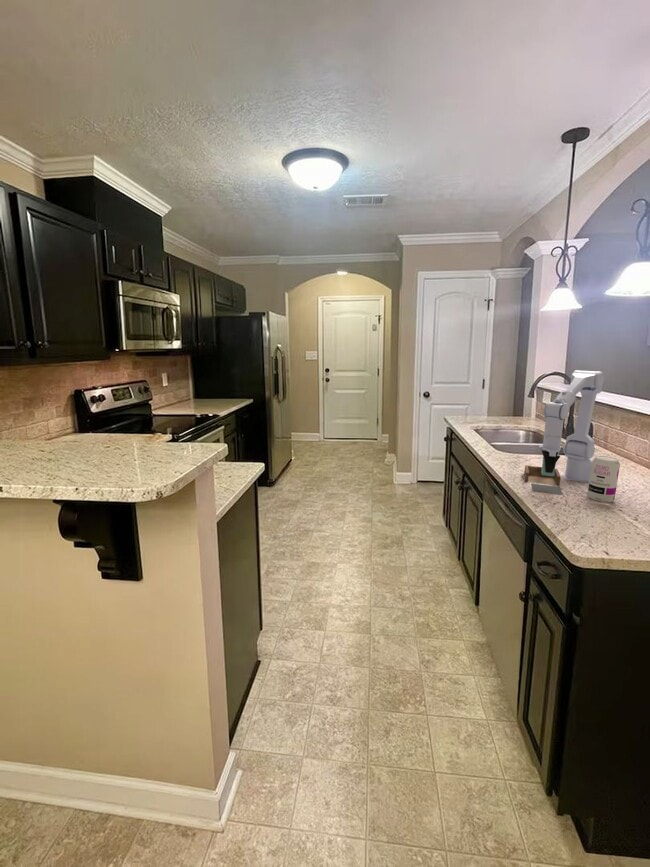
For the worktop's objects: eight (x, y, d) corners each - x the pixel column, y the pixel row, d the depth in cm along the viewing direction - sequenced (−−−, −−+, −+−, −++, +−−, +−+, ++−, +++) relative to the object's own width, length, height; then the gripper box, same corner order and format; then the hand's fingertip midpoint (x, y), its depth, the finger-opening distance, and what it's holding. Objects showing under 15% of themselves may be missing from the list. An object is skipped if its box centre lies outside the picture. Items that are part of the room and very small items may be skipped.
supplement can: (610, 497, 155) (616, 456, 152) (617, 504, 147) (623, 462, 144) (584, 494, 157) (590, 454, 154) (590, 501, 150) (596, 460, 147)
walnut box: (556, 478, 177) (557, 468, 176) (559, 486, 166) (560, 476, 165) (524, 474, 181) (525, 465, 180) (525, 482, 170) (526, 472, 170)
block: (553, 473, 161) (555, 458, 160) (554, 476, 158) (556, 460, 157) (541, 472, 163) (543, 456, 162) (542, 474, 159) (543, 459, 158)
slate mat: (559, 488, 164) (559, 487, 164) (562, 496, 155) (563, 495, 155) (531, 484, 168) (531, 483, 168) (532, 492, 159) (532, 491, 159)
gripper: (539, 430, 165) (535, 464, 168) (542, 437, 152) (537, 474, 155) (560, 432, 163) (555, 467, 165) (564, 439, 150) (559, 477, 152)
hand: (548, 470), depth 160 cm, fingers closed on block, 4 cm apart
